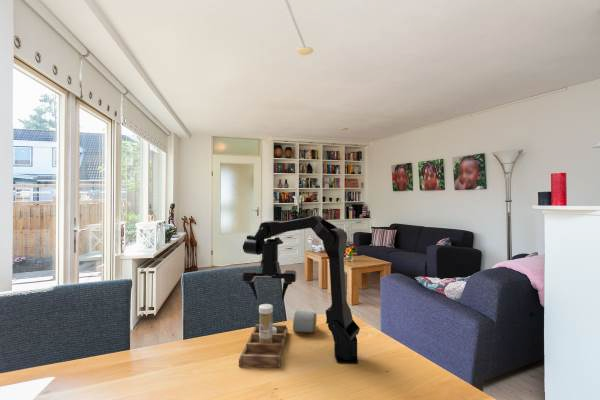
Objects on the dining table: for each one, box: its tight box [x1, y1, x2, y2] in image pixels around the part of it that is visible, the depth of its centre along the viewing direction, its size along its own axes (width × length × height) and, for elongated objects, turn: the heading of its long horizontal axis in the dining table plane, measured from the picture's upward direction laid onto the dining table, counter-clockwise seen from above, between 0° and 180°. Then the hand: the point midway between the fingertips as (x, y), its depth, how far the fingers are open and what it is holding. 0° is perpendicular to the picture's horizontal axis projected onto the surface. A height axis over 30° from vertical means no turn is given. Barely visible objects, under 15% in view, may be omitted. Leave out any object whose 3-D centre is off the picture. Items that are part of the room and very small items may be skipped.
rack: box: [238, 323, 289, 369], centre depth 99 cm, size 12×23×3 cm, turn 176°
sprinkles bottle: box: [258, 303, 274, 344], centre depth 98 cm, size 5×5×14 cm
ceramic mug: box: [292, 309, 317, 334], centre depth 112 cm, size 11×8×8 cm
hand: (269, 299), depth 107 cm, fingers open, 9 cm apart
